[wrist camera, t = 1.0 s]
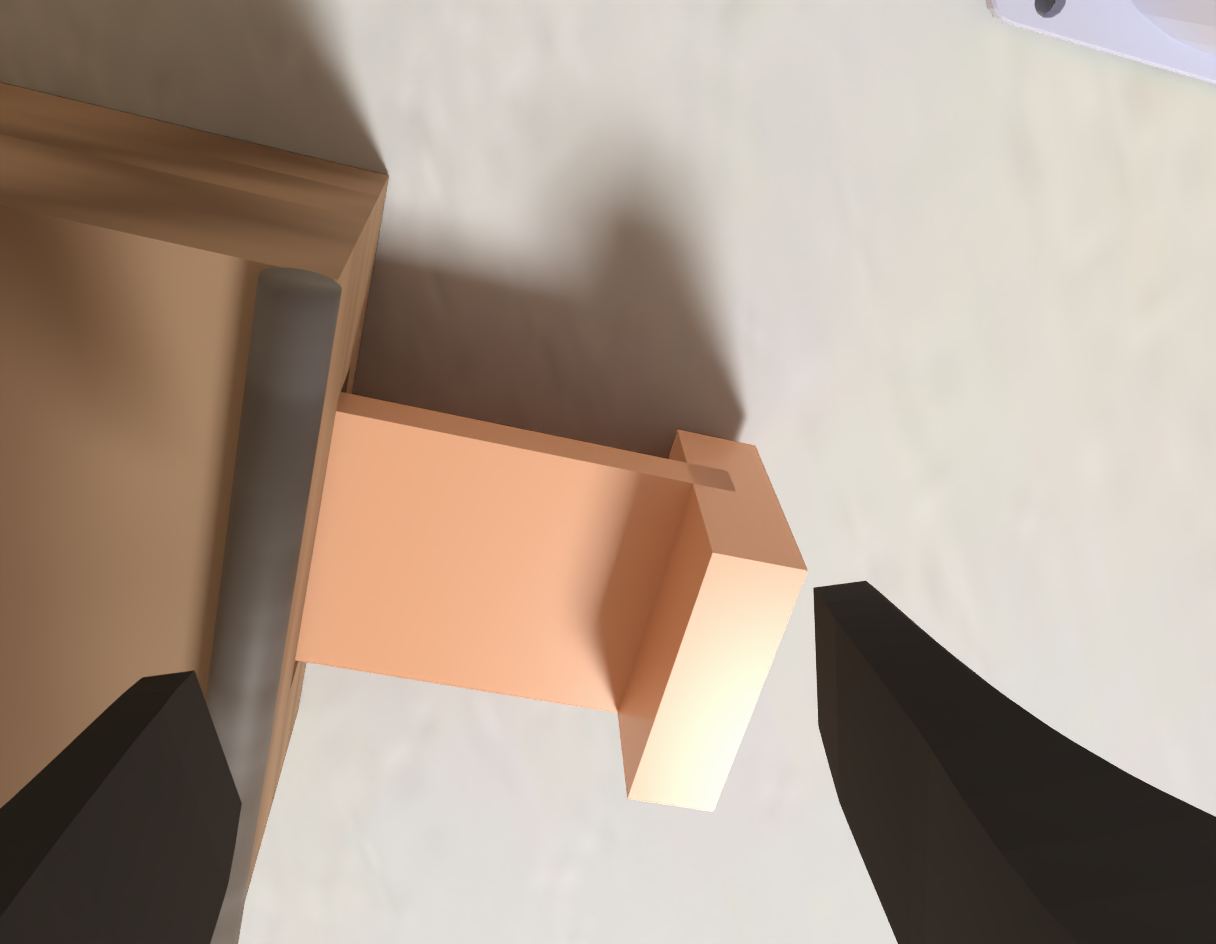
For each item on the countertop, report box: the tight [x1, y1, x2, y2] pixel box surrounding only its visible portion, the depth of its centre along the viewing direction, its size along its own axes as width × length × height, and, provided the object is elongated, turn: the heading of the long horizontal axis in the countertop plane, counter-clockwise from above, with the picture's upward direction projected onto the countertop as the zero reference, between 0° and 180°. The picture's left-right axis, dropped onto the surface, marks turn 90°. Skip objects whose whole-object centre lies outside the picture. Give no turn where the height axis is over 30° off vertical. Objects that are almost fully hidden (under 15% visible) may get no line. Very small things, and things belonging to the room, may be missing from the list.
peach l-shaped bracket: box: [295, 392, 808, 812], centre depth 20 cm, size 14×5×5 cm, turn 75°
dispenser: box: [0, 83, 389, 944], centre depth 18 cm, size 8×12×7 cm
